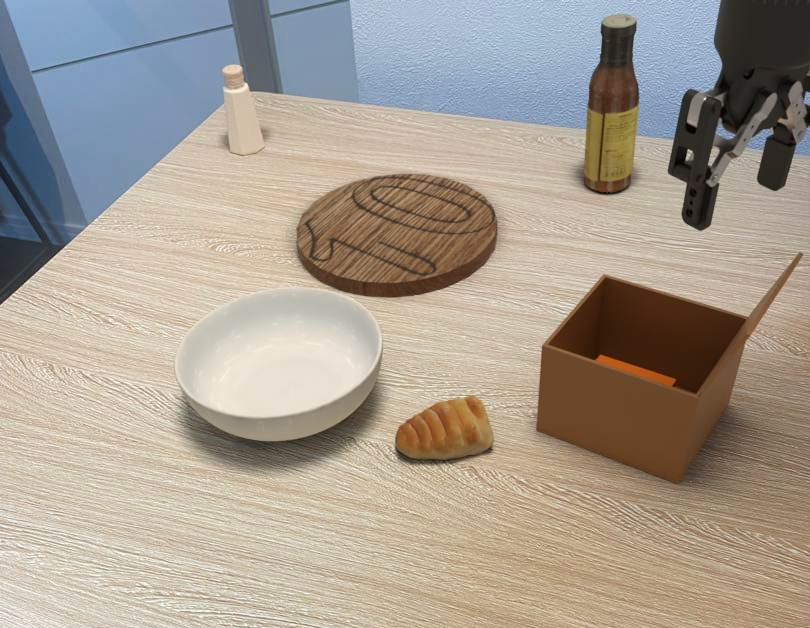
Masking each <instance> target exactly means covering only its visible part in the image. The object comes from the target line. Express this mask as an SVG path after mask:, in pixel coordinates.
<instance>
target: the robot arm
mask: <svg viewBox="0 0 810 628" xmlns="http://www.w3.org/2000/svg"><path fill="white" fill-rule="evenodd" d="M718 7H719V8H718V13H717V18H716V24H715V29H714V34H713V45H714V46H713V47H714V49H715V51H716V52H717V54H718V56H719V59H720V61H721V69H720V72H719V75H718V77H717V79H716V81H715V83H714V86H713V88H712V89H710V90H706V91H704V92H701V91H700V90H699V91H698V90H696V89H693V88H689V89H687V90H686V91H685V92H684V94H683V96H682V99H681V102H680V108H679V113H678V118H677V123H676V127H675V133H674V136H673V141H672V147H671V151H670V157H669V161H668V165H667V166H668V167H667V174H668V175H669V176H671V177H673V178H675V179H677V180H680V181H682V182H684V183H686V186H685V192H684V197H683V202H682V208H681V219H682V222H683V223H684V224H685V225H687V226H689V227H691V228H692V229H695V230H697V231H699V232H703V231H704V230H706V229H708V228H709V227H711V225H712V221H713V216H714V211H715V207H716V202H717V198H718V193H719V188H720V184H721V183H719V182H720V179H721V178H722V177H723V175H724V173H725V172H726V169H727V168H728V167H729V164H730V163H731V161H732V160H733V159H737V158H740V157H741V156H742V154H743V153H744V151H745V150H746V147H747V146H748V144H749V143H750V141H751V139H753V138H754V137H756V136H757V135H759V134H760V133H761V132H762V131H763V130H769V132H771V133H773V134H770V135H768V136H766V137H765V143H764V146H763V151H762V155H761V159H760V162H759V163H760V164H759V168H758V172H757V174H756V175H757V176H756V181H757V183H758V185H760V186H762V187H764V188H766V189H768V190H770V191H773V192H778V191H779V190H781V189H783V188H785V186H786V185H787V184H786V183H787V180H788V176H789V173H790V170H791V166H792V164H793V163H792V162H793V159H794V155H795V151H796V148H797V144H798V143H799V144H800V142H802V140H804V138H805V137H806V134H807V131H808V128H809V127H810V104H807V103H805V99H806V93H809V94H810V0H720V2H719V6H718ZM720 125H721V126H722V128H723V129H724V130H725V131H726V132H728V133H730V134H732V135H734V136H733V137H732V138H725V137H723V136H721V135H719V134H716V133H717V128H718V127H719V126H720ZM713 149H715V150H717V151H718V153H717V155H716V157H715V159H714V160H713V162H712V164H711V165H709V162H710V158H711V153H712V150H713ZM688 150H689V151H691V154H690V155H689V157H688V159H687V156H688Z"/></svg>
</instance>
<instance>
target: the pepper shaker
mask: <svg viewBox="0 0 810 628" xmlns="http://www.w3.org/2000/svg"><path fill="white" fill-rule="evenodd" d="M221 71H222V75H223V79H224V82H225V85H224V86H223V87H222V91H223V92H222V93H223V100H224V110H225V120H226V129H227V137H228V147H229V151H230V153H231V154H236V155H239V156H247V155H253V154H257V153H259V152H260V151H261V150H263V149H264V148H265V147H266V144H265V141H264V137H263V133H262V130H261V126H260V122H259V119H258V115H257V113H256V108H255V104H254V101H253V98H252V94H251V91H250V87H249V84H248V82H245V80H244V73H243V72H244V69H243V67H242V66H241V65H239V64H229V65H227V66H224V67H223V68H222V70H221Z"/></svg>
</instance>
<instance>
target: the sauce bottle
mask: <svg viewBox="0 0 810 628" xmlns="http://www.w3.org/2000/svg"><path fill="white" fill-rule="evenodd" d="M637 21H638V20H637V18H636V17H635V16H632V15H630V14H627V13H618V14H616V13H615V14H612V15H611V14H610V15H607V16H605V17H603V18H602V20H601V22H600V23H601V24H600V35H601V43H600V45H601V46H600V54H599V62H598V64H597V66H596V67H595V68H594V70H593V72H592V74H591V76H590V81H589V84H588V101H587V104H586V105H587V107H586V108H587V109H586V123H585V124H586V126H585V141H584V142H585V144H584V160H583V162H584V163H583V173H584V182H585V186H586V187H587V188H589V189H592V190H594V191H596V192H598V191H599V192H598V193H604V192H606V193H608V192H609V193H616V192H620V191H623V190H624V189H626V188H627V187H628V186H629V185H630V184H631V181H632V172H633V170H634V159H635V149H636V138H637V128H638V116H639V108H640V107H639V105H640V88H639V82H638V79H637V77H636V73H635V67H634V66H635V65H634V60H633V58H634V53H633V52H634V41H635V35H636V33H637V25H638V23H637ZM606 193H605V194H606Z"/></svg>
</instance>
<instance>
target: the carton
mask: <svg viewBox="0 0 810 628" xmlns="http://www.w3.org/2000/svg"><path fill="white" fill-rule="evenodd" d="M748 317H749V316H746V315H744V314H739V313H737V312H733V311H731V310H727V309H723V308H719V307H716V306H713V305H710V304H706V303H703V302H700V301H696V300H693V299H689V298H686V297H683V296H680V295H676V294H673V293H669V292H666V291H663V290H659V289H656V288H652V287H649V286H646V285H642V284H639V283H635V282H632V281H628V280H626V279H623V278H618V277H615V276H611V275H609V274H606V273H603V274H602V276H600V278H599V279H598V280H597V281H596V282H595V284H593V286H592V287H591V288H590V289H589V290H588V291H587V292H586V294H585V295H584V296H583V297H582V298H581V299H580V301H579V302H578V303H577V304H576V305H575V306H574V308H573V309H572V310H571V311H570V312H569V313H568V314H567V316H566V317H565V318H564V319H563V320H562V321H561V322H560V324H559V325H558V326H557V327H556V328H555V330H554V331H553V332H552V333H551V334H550V336H548V337H547V339H546V340H545V341H544V342H543V344H542V345H541V353H540V370H539V384H538V398H537V414H536V427H535V428H536V429H535V430H536V431H538V432H541V433H542V434H546V435H549V436H551V437H554V438H557V439H559V440H561V441H564V442H567V443H569V444H572V445H574V446H577V447H579V448H583V449H585V450H587V451H591V452H593V453H595V454H598V455H601V456H603V457H605V458H609V459H611V460H614V461H616V462H618V463H621V464H624V465H626V466H629V467H631V468H635V469H638V470H640V471H642V472H645V473H648V474H650V475H653V476H656V477H659V478H661V479H663V480H666V481H668V482H672V483H674V484H677V485H679V484H680V482H681V481H682V478H683V477H684V475H685V474H686V472H687V470H688V469H689V467H690V466H691V464H692V463H693V461H694V460H695V458H696V457H697V455H698V453H699V452H700V450H701V448H702V447H703V446H704V444H705V442H706V441H707V439H708V437H709V436H710V434H711V433H712V432H713V430H714V428H715V426H716V425H717V424H718V422H719V420H720V418H721V417H722V415H723V414H724V413H725V411H726V409H727V407H728V406H729V405H730V400H731V397H732V394H733V390H734V386H735V382H736V379H737V375H738V371H739V368H740V364H741V360H742V357H743V353H744V349H745V346H746V343H747V341H746V342H745V343H744V344H743V345H742V347H741V348H740V349H739V350H738V351H737V353H736V354H735V355H734V356H733V357H732V359H731V360H730V361H729V362H728V363H727V365H726V366H725V367H724V368H723V370H722V371H721V372H720V373H719V374H718V376H717V377H716V378H715V379H714V380H713V382H712V383H711V384H710V385H709V386H708V388H707V389H706V390H705V391H704V393H701V392H700V391H699V390H700V388H701V387H702V385H703V384H704V382H705V381H706V379H707V378H708V376H709V375H710V373H711V372H712V370H713V369H714V367H715V366H716V364H717V363H718V361H719V360H720V358H721V357H722V355H723V354H724V352H725V351H726V350H727V348H728V347H729V345H730V344H731V342H732V341H733V339H734V338H735V336H736V335H737V333H738V332H739V330H740V329H741V327H742V326H743V324H744V323H745V321H746V320H747V318H748ZM599 355H603V356H606V357H609V358H613V359H616V360H619V361H622V362H625V363H628V364H631V365H634V366H637V367H640V368H643V369H646V370H649V371H652V372H656V373H659V374H662V375H665V376H668V377H671V378H674V379H676V385H675V387H672V386H669V385H666V384H663V383H660V382H657V381H654V380H651V379H648V378H645V377H642V376H639V375H636V374H633V373H630V372H627V371H624V370H622V369H619V368H616V367H613V366H610V365H607V364H604V363H601V362H598V361H595V360H596V359H597V358H598V357H599Z"/></svg>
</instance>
